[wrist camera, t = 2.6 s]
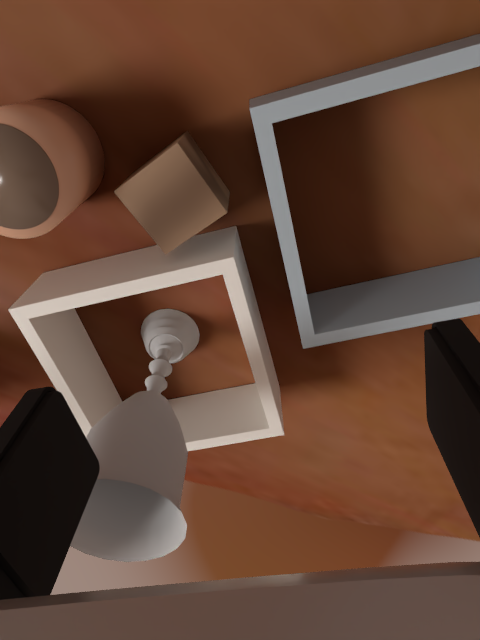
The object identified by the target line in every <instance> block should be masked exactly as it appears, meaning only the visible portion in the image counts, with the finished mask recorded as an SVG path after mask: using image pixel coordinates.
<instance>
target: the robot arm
mask: <svg viewBox="0 0 480 640" xmlns="http://www.w3.org/2000/svg"><path fill="white" fill-rule="evenodd" d="M424 342H425V375H426V407H427V421H428V425H429V428H430V431H431V433H432V435H433V437H434V440H435V442H436V444H437V446H438V448H439V450H440V453H441V455H442V457H443V459H444V461H445V463H446V466H447V468H448V470H449V472H450V474H451V476H452V479H453V481H454V483H455V485H456V487H457V489H458V492H459V494H460V496H461V498H462V500H463V502H464V505H465V507H466V509H467V511H468V513H469V515H470V518H471V520H472V522H473V524H474V526H475V528H476V531H477V533H478V535H479V537H480V343H479V342H478V340H477V339H476V338H475V337H474V335H473V334H472V333H471V331H470V330H469V329H468V328H467V326H466V325H465V324H464V323H463V321H462V320H461V319H452V320H446V321H440V322H434V323H433V324H432V329H429V330H425V333H424ZM99 471H100V465H99V461H98V459H97V457H96V455H95V453H94V451H93V450H92V448H91V446H90V444H89V442H88V440H87V439H86V437H85V435H84V433H83V431H82V429H81V428H80V426H79V424H78V422H77V420H76V418H75V417H74V415H73V413H72V411H71V409H70V407H69V406H68V404H67V402H66V400H65V398H64V396H63V395H62V393H61V392H59V391H56V390H55V389H54V388H53V387H44V388H38V389H32V390H29V391H27V392H26V393H25V394H24V396H23V397H22V399H21V400H20V401H19V403H18V404H17V405H16V407H15V408H14V410H13V411H12V412H11V414H10V415H9V416H8V418H7V419H6V420H5V422H4V423H3V425H2V426H1V427H0V640H480V562H448V563H433V564H418V565H404V566H403V565H402V566H387V567H372V568H358V569H346V570H334V571H321V572H310V573H297V574H285V575H273V576H260V577H248V578H236V579H226V580H213V581H202V582H190V583H179V584H167V585H156V586H145V587H134V588H123V589H111V590H100V591H90V592H79V593H68V594H58V595H50V593H51V592H52V589H53V587H54V584H55V582H56V579H57V577H58V574H59V572H60V569H61V567H62V564H63V562H64V559H65V557H66V554H67V552H68V549H69V547H70V545H71V542H72V540H73V537H74V535H75V532H76V530H77V527H78V525H79V522H80V520H81V517H82V515H83V512H84V510H85V507H86V505H87V502H88V500H89V497H90V495H91V492H92V490H93V488H94V485H95V483H96V480H97V478H98V475H99Z"/></svg>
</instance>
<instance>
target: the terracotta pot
mask: <svg viewBox="0 0 480 640" xmlns="http://www.w3.org/2000/svg"><path fill="white" fill-rule="evenodd" d="M104 169H105V159H104V152H103V148H102V145H101V142H100V140H99V137H98V135H97V133H96V132H95V130H94V128H93V127H92V126H91V125H90V123H89V122H88V121H87V120H86V119H85V118H84V117H83V116H82V115H81V114H80V113H79V112H77V111H76V110H74V109H73V108H71V107H70V106H68V105H66V104H64V103H61V102H58V101H54V100H50V99H35V100H30V101H25V102H20V103H15V104H10V105H5V106H0V235H3V236H6V237H11V238H20V239H24V238H33V237H38V236H41V235H43V234H45V233H47V232H49V231H51V230H52V229H53V228H55V227H56V226H57V225H58V224H59V223H60V222H62V221H63V220H64V219H65V218H66V217H67V216H68V215H70V214H71V213H72V212H73V211H74V210H75V209H76V208H78V207H79V206H80V205H81V204H82V203H83V202H84V201H86V200H87V199H88V198H89V197H90V196H91V195H92V194H93V193H94V192H95V191H96V190H97V188H98V187H99V185H100V183H101V181H102V178H103V175H104Z"/></svg>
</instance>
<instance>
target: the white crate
mask: <svg viewBox="0 0 480 640" xmlns="http://www.w3.org/2000/svg"><path fill="white" fill-rule="evenodd" d="M222 274H223V277H224V280H225V284H226V287H227V290H228V293H229V297H230V300H231V303H232V307H233V310H234V313H235V316H236V320H237V323H238V326H239V330H240V333H241V336H242V339H243V343H244V346H245V349H246V353H247V356H248V359H249V362H250V366H251V369H252V372H253V376H254V379H255V382H256V383H254V384H248V385H243V386H238V387H233V388H227V389H222V390H217V391H211V392H206V393H201V394H196V395H190V396H185V397H180V398H175V399H169V400H168V401H169V403H170V405H171V407H172V409H173V411H174V413H175V415H176V417H177V419H178V421H179V424H180V427H181V429H182V433H183V436H184V440H185V444H186V447H187V451H192V450H198V449H204V448H210V447H216V446H222V445H227V444H233V443H239V442H245V441H251V440H257V439H263V438H268V437H274V436H280V435H284V428H283V417H282V406H281V395H280V386H279V383H278V379H277V375H276V372H275V368H274V364H273V360H272V357H271V353H270V349H269V346H268V342H267V338H266V335H265V331H264V327H263V323H262V320H261V316H260V312H259V309H258V305H257V301H256V298H255V294H254V290H253V286H252V283H251V279H250V275H249V272H248V268H247V264H246V261H245V257H244V253H243V249H242V246H241V242H240V238H239V235H238V231H237V227H236V226H233V227H229V228H225V229H221V230H217V231H212V232H208V233H204V234H200V235H196V236H193V237H191V238H190V239H188V240H187V241H185V242H184V243H182V244H181V245H179V246H178V247H176V248H175V249H173V250H172V251H170V252H169V253H168V254H166V255H165V253H164V252H163V251H162V250H161V248H160V247H159V246H158V245H155V246H151V247H147V248H143V249H139V250H135V251H130V252H126V253H122V254H118V255H114V256H110V257H106V258H102V259H98V260H93V261H89V262H85V263H81V264H77V265H73V266H69V267H65V268H61V269H57V270H52V271H48V272H44V273H43V274H42V275H41V276H40V277H39V278H38V279H37V280H36V281H35V282H34V283H33V284H32V285H31V286H30V287H29V288H28V289H27V290H26V291H25V292H24V293H23V295H22V296H21V297H20V298H19V299H18V300H17V301H16V302H15V303H14V304H13V305H12V306H11V307H10V308H9V309H8V310H9V312H10V314H11V315H12V317H13V319H14V320H15V322H16V324H17V325H18V327H19V329H20V330H21V332H22V333H23V335H24V337H25V338H26V340H27V342H28V343H29V345H30V347H31V348H32V350H33V352H34V353H35V355H36V357H37V358H38V360H39V362H40V363H41V365H42V367H43V368H44V370H45V372H46V373H47V375H48V377H49V378H50V380H51V381H52V383H53V385H54V386H55V388H56V390H57V391H59V392H61V393H62V395H63V396H64V398H65V400H66V402H67V404H68V406H69V407H70V409H71V411H72V413H73V415H74V417H75V418H76V420H77V422H78V424H79V426H80V428H81V429H82V431H83V433H84V435H85V437H87V435H88V433H89V431H90V429H91V428H92V427H93V426H94V425H95V424H96V423H97V422H98V421H99V420H101V419H102V418H103V417H104V416H105V415H106V414H107V413H108V412H109V411H110V410H112V409H113V408H114V407H115V406H117V405H118V404H120V403H121V402H122V400H121V398H120V396H119V394H118V392H117V390H116V388H115V386H114V384H113V382H112V380H111V378H110V377H109V375H108V373H107V371H106V369H105V367H104V365H103V363H102V361H101V359H100V357H99V355H98V353H97V351H96V349H95V347H94V345H93V344H92V342H91V340H90V338H89V336H88V334H87V332H86V330H85V328H84V326H83V324H82V322H81V320H80V318H79V316H78V314H77V312H76V310H75V309H74V308H78V307H82V306H87V305H91V304H95V303H100V302H104V301H108V300H113V299H117V298H122V297H126V296H130V295H135V294H139V293H143V292H148V291H152V290H157V289H161V288H165V287H170V286H174V285H178V284H183V283H187V282H192V281H196V280H200V279H205V278H209V277H213V276H218V275H222Z"/></svg>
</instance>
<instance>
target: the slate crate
mask: <svg viewBox="0 0 480 640" xmlns="http://www.w3.org/2000/svg"><path fill="white" fill-rule="evenodd" d="M479 66H480V34H477V35H473V36H470V37H466V38H463V39H459V40H456V41H452V42H449V43H445V44H442V45H438V46H435V47H431V48H428V49H424V50H421V51H417V52H414V53H410V54H407V55H403V56H400V57H396V58H393V59H389V60H386V61H382V62H379V63H375V64H372V65H368V66H365V67H361V68H358V69H354V70H351V71H347V72H344V73H340V74H337V75H333V76H330V77H326V78H323V79H319V80H316V81H312V82H309V83H305V84H302V85H298V86H295V87H291V88H288V89H284V90H281V91H277V92H274V93H270V94H267V95H263V96H260V97H256V98H252V99H249V100H250V113H251V117H252V122H253V126H254V131H255V135H256V140H257V144H258V149H259V153H260V158H261V162H262V167H263V171H264V176H265V180H266V185H267V189H268V194H269V198H270V203H271V207H272V212H273V216H274V221H275V225H276V230H277V234H278V238H279V243H280V247H281V252H282V256H283V261H284V265H285V270H286V274H287V279H288V283H289V288H290V292H291V297H292V301H293V306H294V310H295V315H296V319H297V324H298V328H299V333H300V337H301V342H302V346H303V349H305V348H310V347H315V346H320V345H325V344H330V343H335V342H340V341H345V340H350V339H355V338H360V337H365V336H371V335H376V334H381V333H386V332H391V331H396V330H401V329H406V328H411V327H416V326H421V325H426V324H431V323H434V322H440V321H446V320H451V319H456V318H461V317H467V316H472V315H477V314H480V257H478V258H473V259H469V260H464V261H459V262H455V263H450V264H445V265H441V266H436V267H432V268H427V269H422V270H418V271H413V272H408V273H404V274H399V275H394V276H390V277H385V278H381V279H376V280H371V281H367V282H362V283H357V284H353V285H348V286H343V287H339V288H334V289H329V290H325V291H320V292H316V293H311V294H306V289H305V284H304V279H303V274H302V269H301V265H300V260H299V255H298V250H297V245H296V240H295V235H294V230H293V225H292V220H291V215H290V210H289V205H288V200H287V195H286V190H285V185H284V181H283V176H282V171H281V166H280V161H279V156H278V151H277V146H276V141H275V136H274V131H273V126H272V123H275V122H279V121H282V120H286V119H290V118H293V117H297V116H300V115H304V114H308V113H311V112H315V111H319V110H322V109H326V108H330V107H333V106H337V105H340V104H344V103H348V102H351V101H355V100H359V99H362V98H366V97H370V96H373V95H377V94H380V93H384V92H388V91H391V90H395V89H399V88H402V87H406V86H409V85H413V84H417V83H420V82H424V81H428V80H431V79H435V78H439V77H442V76H446V75H449V74H453V73H457V72H460V71H464V70H468V69H471V68H475V67H479Z"/></svg>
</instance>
